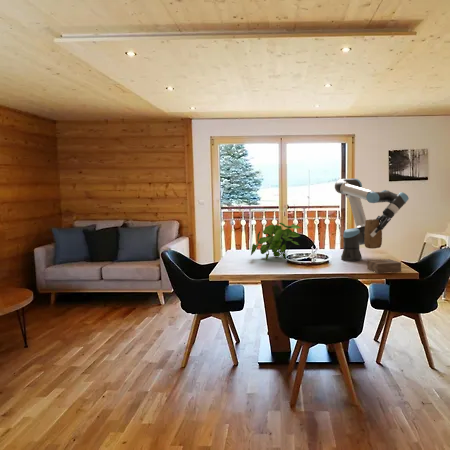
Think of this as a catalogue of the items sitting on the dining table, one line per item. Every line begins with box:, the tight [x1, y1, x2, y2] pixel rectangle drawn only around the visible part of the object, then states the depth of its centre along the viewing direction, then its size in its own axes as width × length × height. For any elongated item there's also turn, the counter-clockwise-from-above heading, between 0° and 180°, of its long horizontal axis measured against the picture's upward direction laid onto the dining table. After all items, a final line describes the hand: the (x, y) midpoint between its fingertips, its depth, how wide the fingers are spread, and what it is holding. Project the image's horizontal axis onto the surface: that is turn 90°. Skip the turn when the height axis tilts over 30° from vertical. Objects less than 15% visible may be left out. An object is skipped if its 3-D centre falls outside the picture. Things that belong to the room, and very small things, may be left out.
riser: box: [366, 258, 402, 274], centre depth 272 cm, size 14×16×6 cm
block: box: [364, 218, 383, 250], centre depth 286 cm, size 11×8×20 cm
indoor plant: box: [250, 222, 303, 261], centre depth 322 cm, size 44×42×30 cm
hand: (368, 235), depth 286 cm, fingers closed on block, 7 cm apart
